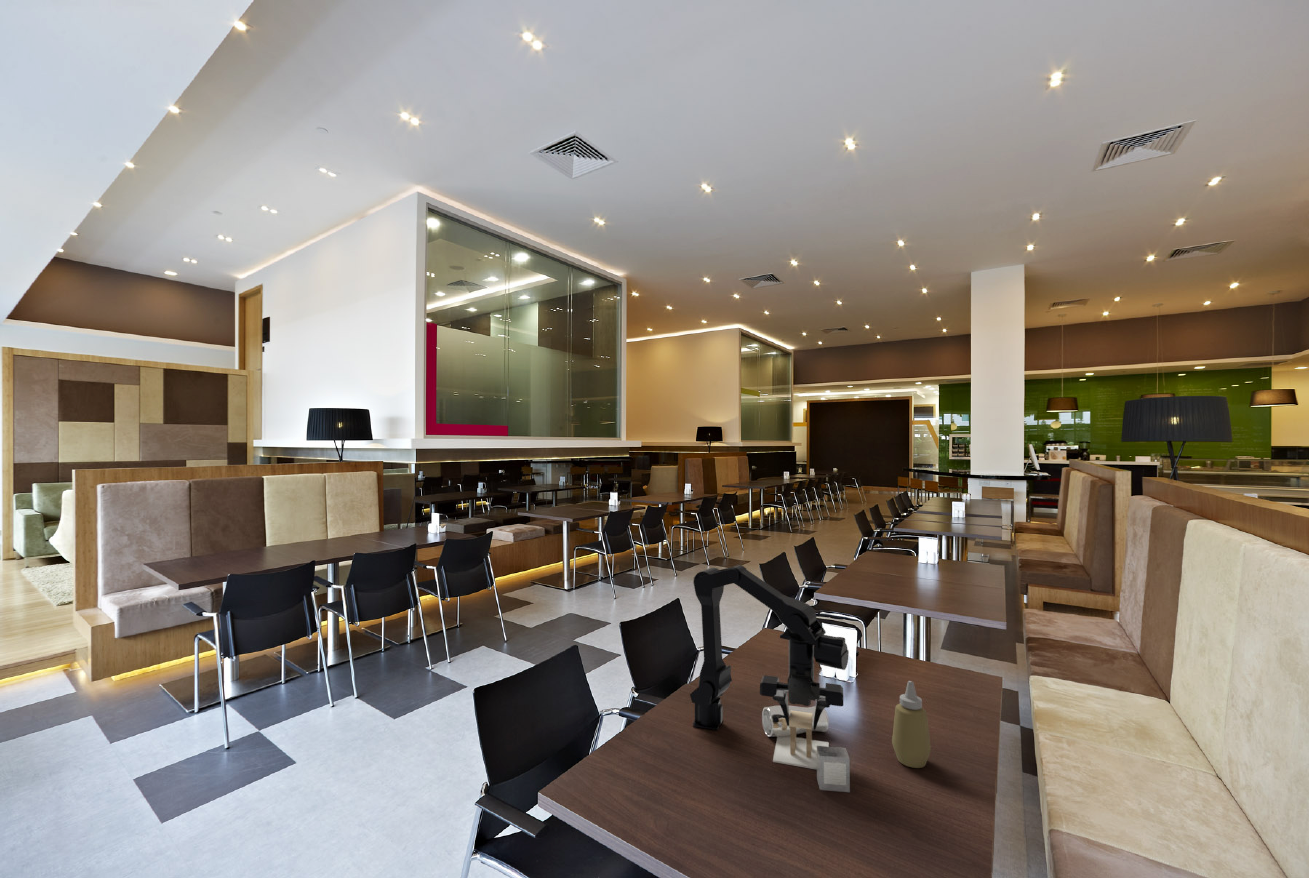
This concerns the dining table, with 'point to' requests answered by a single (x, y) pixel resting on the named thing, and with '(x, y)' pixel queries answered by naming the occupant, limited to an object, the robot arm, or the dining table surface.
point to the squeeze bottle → (911, 730)
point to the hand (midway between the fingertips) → (801, 726)
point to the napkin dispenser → (833, 769)
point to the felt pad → (796, 752)
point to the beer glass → (778, 726)
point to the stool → (800, 721)
